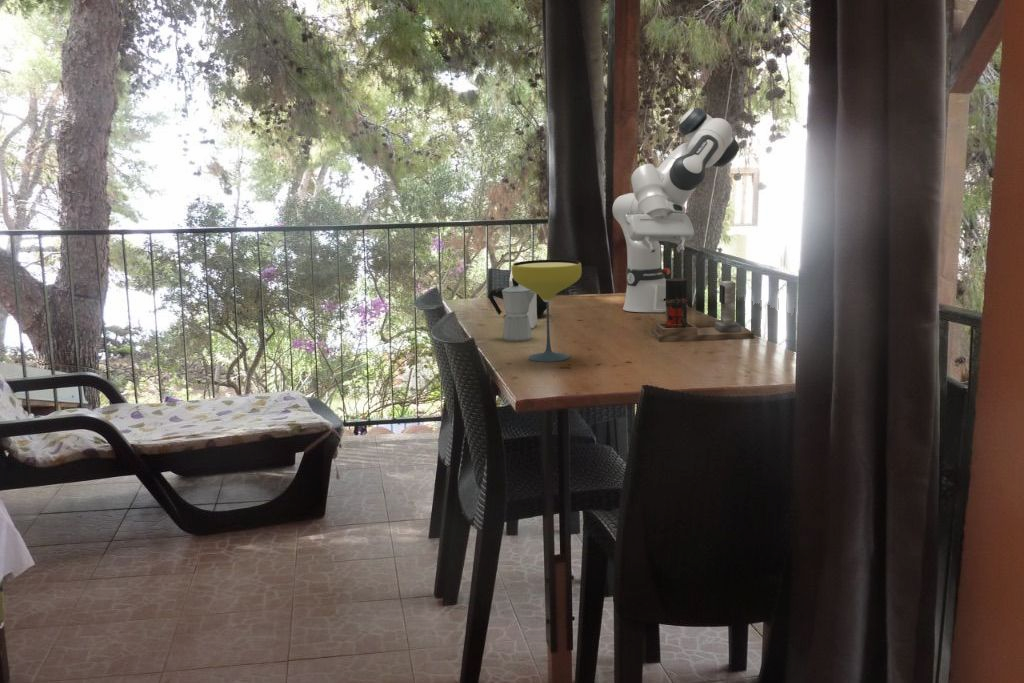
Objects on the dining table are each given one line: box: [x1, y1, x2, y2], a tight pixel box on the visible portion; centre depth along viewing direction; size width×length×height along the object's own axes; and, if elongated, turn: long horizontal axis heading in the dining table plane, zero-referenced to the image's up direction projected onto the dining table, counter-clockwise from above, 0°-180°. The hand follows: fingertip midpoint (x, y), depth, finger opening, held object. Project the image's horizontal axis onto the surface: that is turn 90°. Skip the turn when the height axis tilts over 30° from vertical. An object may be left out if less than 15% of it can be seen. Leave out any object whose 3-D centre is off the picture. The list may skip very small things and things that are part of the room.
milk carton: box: [508, 266, 538, 329], centre depth 300 cm, size 7×7×19 cm
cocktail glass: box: [512, 259, 583, 363], centre depth 253 cm, size 18×18×25 cm
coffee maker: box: [488, 278, 535, 342], centre depth 281 cm, size 15×9×18 cm, turn 71°
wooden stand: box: [651, 280, 755, 343], centre depth 276 cm, size 27×11×16 cm, turn 92°
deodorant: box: [665, 277, 688, 328], centre depth 276 cm, size 6×6×15 cm
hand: (667, 251), depth 282 cm, fingers open, 8 cm apart
